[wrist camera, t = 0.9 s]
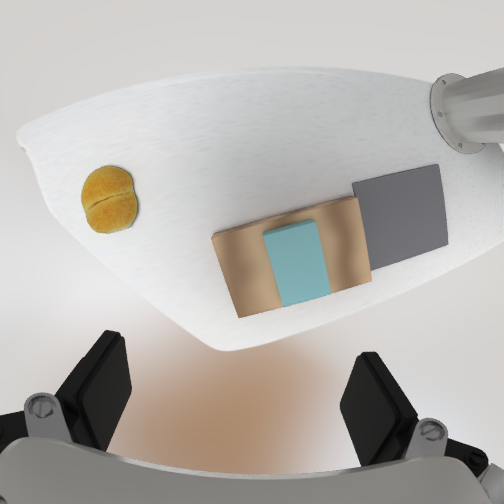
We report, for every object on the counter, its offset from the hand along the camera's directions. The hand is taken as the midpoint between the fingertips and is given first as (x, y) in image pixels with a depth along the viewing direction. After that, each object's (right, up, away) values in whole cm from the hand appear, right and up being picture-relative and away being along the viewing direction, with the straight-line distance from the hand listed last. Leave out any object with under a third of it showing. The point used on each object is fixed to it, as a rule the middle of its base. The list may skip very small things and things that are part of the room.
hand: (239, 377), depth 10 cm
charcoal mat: (+21, +10, +25) cm, 34 cm away
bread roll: (-18, +12, +25) cm, 33 cm away
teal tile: (+6, +3, +23) cm, 24 cm away
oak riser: (+6, +4, +26) cm, 27 cm away
